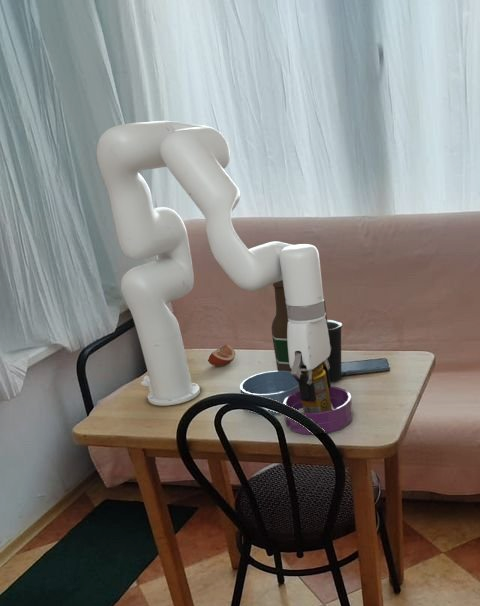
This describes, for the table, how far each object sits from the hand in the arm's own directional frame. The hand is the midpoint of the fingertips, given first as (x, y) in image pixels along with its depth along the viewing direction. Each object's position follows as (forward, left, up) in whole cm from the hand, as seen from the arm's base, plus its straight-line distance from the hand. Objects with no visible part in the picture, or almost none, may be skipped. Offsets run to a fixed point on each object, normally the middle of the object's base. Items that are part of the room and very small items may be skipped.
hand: (316, 393), depth 133 cm
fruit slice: (-42, +24, -7) cm, 49 cm away
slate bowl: (-15, +6, -6) cm, 17 cm away
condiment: (0, 0, -5) cm, 5 cm away
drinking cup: (-8, +22, -7) cm, 24 cm away
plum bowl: (0, 0, -6) cm, 6 cm away
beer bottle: (-19, +22, -7) cm, 30 cm away
